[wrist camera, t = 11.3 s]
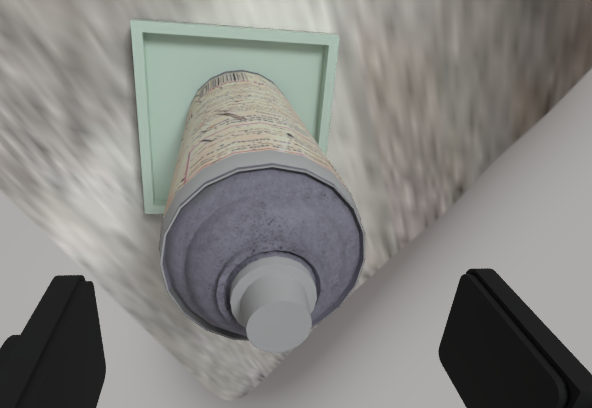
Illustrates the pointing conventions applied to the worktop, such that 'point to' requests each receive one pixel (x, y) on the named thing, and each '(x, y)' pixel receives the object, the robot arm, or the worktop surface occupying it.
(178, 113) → the tray
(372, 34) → the worktop surface
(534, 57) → the worktop surface
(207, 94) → the aerosol can
